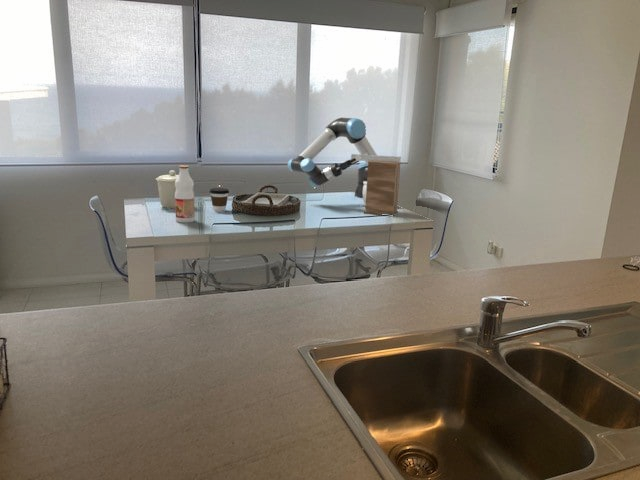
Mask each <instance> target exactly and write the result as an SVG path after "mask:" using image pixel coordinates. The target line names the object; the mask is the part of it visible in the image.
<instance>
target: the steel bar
mask: <svg viewBox="0 0 640 480" xmlns="http://www.w3.org/2000/svg"><path fill="white" fill-rule="evenodd" d="M357 155H359V154H355V153H352V154H351V155H350V159H352V158H354V157H356V156H357ZM360 155H361V154H360ZM361 157H362V159H360V160H359V162H361V161H364V162H365V161H379V162H398V163H400V162H402V161H401V156H397V155H396V156H394V155H393V156H392V155H378V154H377V155H361ZM400 164H401V163H400Z"/></svg>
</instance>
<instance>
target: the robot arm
mask: <svg viewBox="0 0 640 480" xmlns="http://www.w3.org/2000/svg"><path fill="white" fill-rule="evenodd" d="M366 128H367V127H366V123H365V122H364V121H363V120H362V119H359V118H358V117H357V118H356V117H353V118H352V117H338V118H337V119H334V120H333V121H331V122H330V123H329V124H328V125H327V126H326V127H324V128H323V132H322V133H321V134H319V136H318V137H316V138H315V139H314V140H313V141H312V142H311V143H310V144H309V145H308V146H307V147H306V148H305V149H304V150H302V152H301V153H300V154H299V155H298V156H297V157H296V158H290V159H289V160H288V161H287V169H288V170H289V171H291V172H294V173H298V174H299V173H300V174H303V175H304V174H305V175H307V176H308V181H309V184H310V185H311V186H312V187H314V188H317V187H321V186H322V185H324V184H325V183H328V182H329V181H334V179H335V178H337V177H339V176H341V175H342V174H343V171H345V170H346V169H349V167H351V166H353V165H355V164H358V163H359V164H358V169H357V170H358V171H357V185H356V188H355V190H354V197H356V196H357V198H362V199H363V186H364V183H363V181H367V175H368V161H364V162H361V163H360V161H359V160H360V159H362V157H361V155H378V154H377V153H376V151H375V149H374V148H373V146H372V145H371V143H370V142H369V140H368V138H367V137H366V135H367V129H366ZM340 137H343V138H346V139H347V140H348V142H349V143H350V144H353V145H354V147H355V148H356V150H357V152H358V153H359V154H358V155H357V156H356V157H354V158H352V159H351V158H350V159H348V160H346V161H344V162H342V163H339V164H338V163H336V162H335V163H333V164H331V165H329V166H327V167H325V168H323V169H320V168H319V167H318V165H317V164H316V163H315V162H314V161H313V160H314V159H315V158H316V157H317V156H318V155H319V154H320V153H321V152H322V151H323V150H324V149H325V148H326V147H327V146H328V145H329V144H330V143H331V142H332V141H336V139H338V138H340Z"/></svg>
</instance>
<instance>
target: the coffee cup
mask: <svg viewBox="0 0 640 480" xmlns="http://www.w3.org/2000/svg"><path fill="white" fill-rule="evenodd" d="M208 193H209V194H210V199H211V204H212V209H213V212H218V213H221V212H222V211H223V212H225V211H226V208H227V203H228V199H229V195H228V194H229V193H230V190H229V189H228V188H222V187H215V188H213V187H212V188H210V190H209V191H208Z"/></svg>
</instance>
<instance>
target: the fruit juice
mask: <svg viewBox="0 0 640 480" xmlns="http://www.w3.org/2000/svg"><path fill="white" fill-rule="evenodd" d="M178 170H179V174H178V175H179V176H178V178H177V179H176V181H175V187H176V192H175V221H176V222H177V223H182V224H184V223H185V224H186V223H187V224H188V223H189V224H190V223H193V222H195V220H196V217H195V216H196V215H195V214H196V212H195V192H194V184H195V183H194V179H192V178H191V175H190V171H189V170H190V166H189V165H185V164H183V165H179V166H178Z"/></svg>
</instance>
